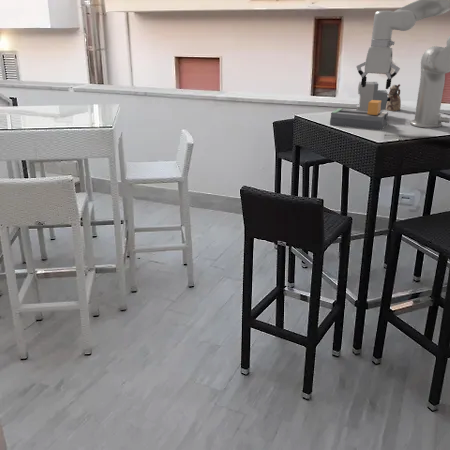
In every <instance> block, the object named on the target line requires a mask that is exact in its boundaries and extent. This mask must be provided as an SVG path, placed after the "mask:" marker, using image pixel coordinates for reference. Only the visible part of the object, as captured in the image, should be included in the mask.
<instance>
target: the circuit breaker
mask: <svg viewBox="0 0 450 450" xmlns="http://www.w3.org/2000/svg"><path fill="white" fill-rule="evenodd" d="M357 94H358V95H359V98H358V99H359V100H358V103H357V104H356V107H355V108H356V110H359V111H368V102H370V101H371V100H380V101H381V110H380V111H383V110H384V111H387V110H386V104H387V101H390V98H388V95H387V94H389V92H387V89H379V83H378V81H366V86H365V87H362V85H361V81H359V83H358V87H357Z"/></svg>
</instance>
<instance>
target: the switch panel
mask: <svg viewBox="0 0 450 450" xmlns="http://www.w3.org/2000/svg"><path fill="white" fill-rule="evenodd" d="M367 112H368V111H359V110H355V109H345V108H344V109H343V108H341V107H338V108H337V109H335V110H333V111H332V112H330V120H329V121H330V122H329V125H330V126H341V127H351V128H361V129H374V130H380V129H381V130H383V129H384V128H385V127H386V126H387V124H388V121H389V119H388V117H389V112H387V111H383V112H381V111H380V113H379V114H378V115H369V114H367ZM384 126H385V127H384ZM383 127H384V128H383Z"/></svg>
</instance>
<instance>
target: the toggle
mask: <svg viewBox="0 0 450 450" xmlns="http://www.w3.org/2000/svg"><path fill="white" fill-rule="evenodd" d="M381 111H382V110H381V101H380V100H371V101H370V102H368V112H367V114H369V115H378V114H379V113H380V112H381Z"/></svg>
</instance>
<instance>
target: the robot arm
mask: <svg viewBox="0 0 450 450" xmlns="http://www.w3.org/2000/svg"><path fill="white" fill-rule="evenodd" d="M449 12H450V0H416V1H413V2H411V3H408V4H406V5H404V6H402V7H400V8H398V9H395V10H394V11H392V10H377V11H375V13H374V17H373V24H372V26H373V27H372V35H371V42H370V47H368V51H367V53H366V58H365V62H362V63H360V64H358V65H356V70H357V72H358V74H359V75H360V77H361V81H360V82H361V85H362V87H365V86H366V82H367V75H368V74H379V75H385V76H386V77H387V79H386V82H385V83H386V84H385V90H388V89H389V90H390V87H392V79H393V78H395V76H396V75H397V74H398V73H399V71H400V70H401V68H400V67H399V66H398V65H396V64H395V63H393V48H392V47H391V46H394V45H395V41H393V40H392V35H393V30H395V31H399V32H400V31H401V32H406V31H410V30H411V29H413V28H414V26H415V25H416V22H417V21H421V20H423V19H427V18H432V17H433V18H434V17H437V16H441V15H443V14H445V13H446V14H447V13H449ZM363 67H364V71H363V70H362V68H363ZM392 69H394V71H393V73H391V72H392ZM449 73H450V35H449V36H448V38H447V40H446V46H437V45H436V46H432V47H429V48H427V49H426V50H425V51H424V52H423V53H422V56H421V59H420V78H419V84H418V85H419V87H418V92H417V100H416V107H415V114H414V119H411V120H410V122H409V124H410V125H411V126H413V127H417V128H425V129H427V128H430V129H432V128H433V129H434V128H439V127H442V126H443V125H442V124H443V123H447V124H450V117H447V116H446V117H445V116H444V117H442V116H441V114H442V113H440V112H441V106H442V100H443V93H444V88H445V82H446V80H445V79H446V74H449Z"/></svg>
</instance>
